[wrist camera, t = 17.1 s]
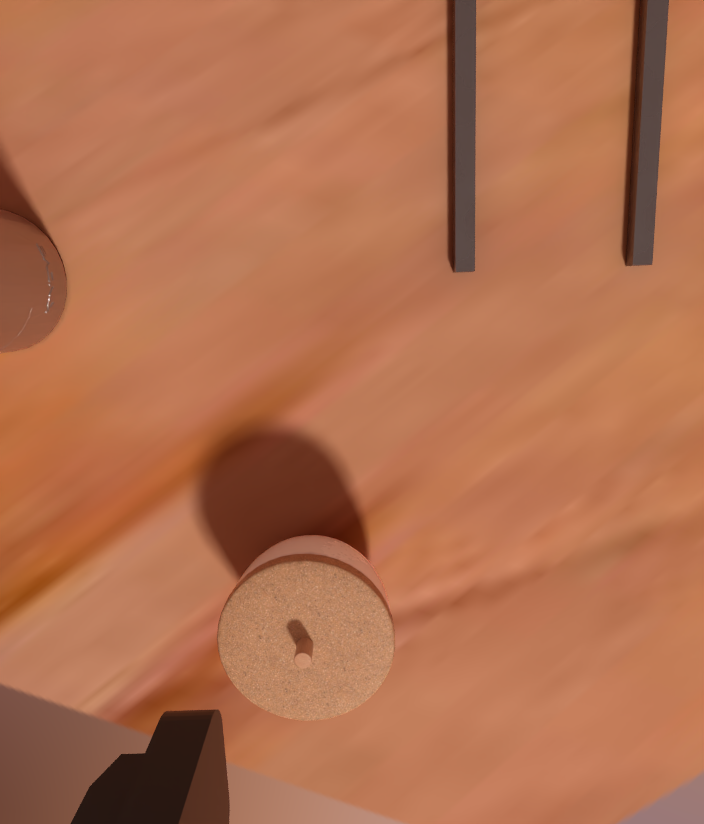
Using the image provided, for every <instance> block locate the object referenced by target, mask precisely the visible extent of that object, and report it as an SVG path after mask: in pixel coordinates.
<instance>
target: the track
mask: <svg viewBox="0 0 704 824" xmlns="http://www.w3.org/2000/svg"><path fill="white" fill-rule="evenodd" d="M668 5H669V0H640V15H639V33H638V52H637V70H636V88H635V107H634V125H633V144H632V162H631V180H630V199H629V217H628V236H627V254H626V266H640V265H652V260H653V244H654V228H655V212H656V196H657V180H658V164H659V148H660V132H661V117H662V101H663V85H664V69H665V53H666V37H667V21H668ZM475 108H476V0H453V272H473V271H475Z"/></svg>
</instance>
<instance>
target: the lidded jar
mask: <svg viewBox="0 0 704 824" xmlns="http://www.w3.org/2000/svg"><path fill="white" fill-rule="evenodd" d="M217 641H218V651H219V654H220V658H221V662H222V664H223V667H224V669H225V671H226V673H227V675H228V676H229V678H230V679H231V681H232V683H233V684H234V685H235V686H236V688H237V689H238V690H239V691H240V692H241V693H242V694H243V695H244V696H245V697H246V698H248V699H249V700H250V701H251V702H252V703H254V704H255V705H257V706H259V707H260V708H262V709H264V710H266V711H268V712H270V713H273V714H275V715H277V716H281V717H285V718H289V719H296V720H303V721H306V720H322V719H329V718H333V717H336V716H339V715H342V714H345V713H347V712H349V711H351V710H353V709H355V708H357V707H358V706H360V705H361V704H363V703H364V702H366V701H367V700H368V699H369V698H370V697H371V696H372V695H373V694H374V693H375V692H376V691H377V690H378V688H379V687H380V686H381V685H382V683H383V682H384V680H385V678H386V676H387V675H388V673H389V670H390V667H391V664H392V662H393V657H394V651H395V630H394V625H393V619H392V615H391V610H390V605H389V600H388V597H387V594H386V591H385V588H384V586H383V583H382V581H381V579H380V577H379V576H378V574H377V572H376V570H375V569H374V567H373V566H372V565H371V563H370V562H369V561H368V560H367V558H365V557H364V556H363V555H362V554H361V553H360V552H359V551H357V550H356V549H354V548H353V547H351V546H350V545H348V544H347V543H344V542H342V541H340V540H338V539H334V538H331V537H327V536H320V535H303V536H298V537H292V538H289V539H286V540H283V541H281V542H279V543H277V544H275V545H273V546H271V547H270V548H269V549H267V550H266V551H265V552H263V553H262V554H261V555H259V556H258V557H257V558H256V559H255V560H254V561H253V562H252V563H251V564H250V566H249V567H248V568H247V569H246V571H245V572H244V574H243V575H242V576H241V578H240V579H239V581H238V583H237V585H236V587H235V588H234V590H233V591H232V592H231V594H230V595H229V597H228V599H227V602H226V604H225V606H224V608H223V610H222V613H221V616H220V620H219V624H218V634H217Z"/></svg>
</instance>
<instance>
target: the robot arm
mask: <svg viewBox="0 0 704 824" xmlns="http://www.w3.org/2000/svg"><path fill="white" fill-rule="evenodd" d="M66 295H67V289H66V276H65V272H64V267H63V263H62V261H61V259H60V257H59V255H58V252H57V250H56V248H55V247H54V246H53V244H52V243H51V241H50V240H49V238H48V237H47V236H46V235H45V234H44V233H43V232H42V231H41V230H40V229H39V228H38V227H37V226H36V225H34V224H33V223H31V222H30V221H28V220H27V219H25V218H24V217H22V216H19V215H17V214H14V213H12V212H9V211H5V210H1V209H0V353H5V352H11V351H16V350H20V349H24V348H28V347H30V346H32V345H34V344H36V343H38V342H40V341H41V340H42V339H43V338H45V337H46V336H47V335H48V334H49V333H50V332H51V331H52V330H53V328H54V327H55V325H56V324H57V323H58V321H59V319H60V317H61V314H62V312H63V310H64V306H65V300H66ZM71 824H229V792H228V780H227V770H226V758H225V747H224V736H223V725H222V718H221V714H220V711H219V710H188V711H166V712H165V713H163V715H162V716H161V718H160V720H159V722H158V725H157V727H156V729H155V732H154V734H153V736H152V739H151V741H150V743H149V746H148V748H147V750H146V753H145V754H121V755H120V756H119V757H118V758H117V759H116V760H115V761H114V762H113V764H111V766H110V767H108V768H107V769H106V771H105V772H104V773H103V774H102V775H101V776H100V777H99V778H98V779H97V780H96V781H95V782H94V783H93V784H92V785H91V786H90V787H89V789H88V791H87V793H86V795H85V797H84V799H83V801H82V803H81V805H80V807H79V808H78V810H77V812H76V814H75V816H74V818H73V820H72V822H71Z"/></svg>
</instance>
